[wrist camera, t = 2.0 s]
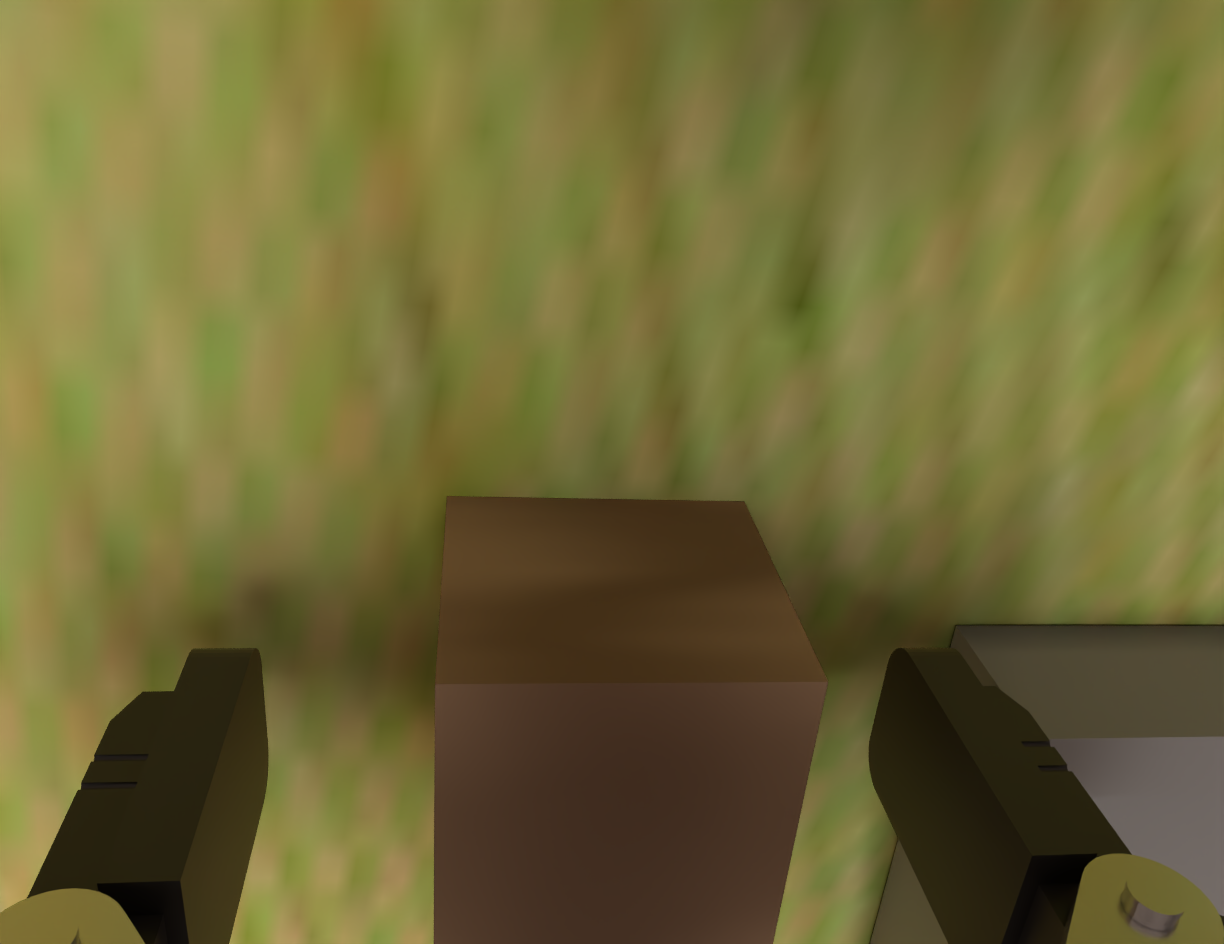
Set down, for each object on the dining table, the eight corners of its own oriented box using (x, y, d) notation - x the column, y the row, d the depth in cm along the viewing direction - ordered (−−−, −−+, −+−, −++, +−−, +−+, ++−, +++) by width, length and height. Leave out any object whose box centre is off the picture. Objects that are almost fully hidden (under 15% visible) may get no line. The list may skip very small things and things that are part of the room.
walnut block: (743, 498, 14) (828, 681, 11) (707, 727, 16) (771, 949, 13) (447, 493, 14) (435, 684, 10) (445, 730, 16) (433, 963, 12)
